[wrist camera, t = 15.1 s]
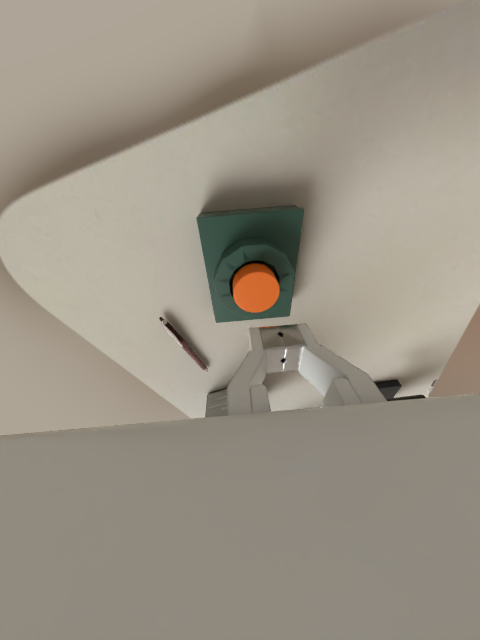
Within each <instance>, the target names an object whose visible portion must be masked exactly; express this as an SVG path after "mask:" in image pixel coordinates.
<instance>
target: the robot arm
mask: <svg viewBox="0 0 480 640" xmlns="http://www.w3.org/2000/svg"><path fill="white" fill-rule="evenodd" d="M249 345H250V351H249V353H248V354H247V356H246V358H245V359H244V361H243V362H242V364H241V365H240V367H239V369H238V370H237V372H236V373H235V375H234V376H233V378H232V380H231V381H230V383H229V384H228V386H227V416H218V417H206V418H195V419H184V420H172V421H162V422H150V423H138V424H127V425H115V426H105V427H92V428H81V429H70V430H58V431H47V432H36V433H24V434H12V435H2V436H0V640H480V393H477V394H466V395H455V396H443V397H432V398H421V399H409V400H398V401H387V400H386V399H385V397H384V396H383V395H382V393H381V392H380V390H379V389H378V388H377V386H376V385H375V383H374V382H373V380H372V379H371V378H370V376H369V375H368V374H367V373H365V372H364V371H362V370H360V369H359V368H357V367H356V366H354V365H352V364H351V363H349V362H347V361H346V360H344V359H343V358H341V357H339V356H338V355H336V354H335V353H333V352H331V351H330V350H328V349H327V348H325V347H323V346H322V345H318V344H317V342H316V340H315V338H314V337H313V335H312V333H311V331H310V329H309V328H308V326H307V324H306V323H302V324H294V325H283V326H270V327H259V328H258V327H257V328H249ZM288 371H298V372H299V373H300V374H301V375H302V376H303V377H304V378H305V379H306V380H307V381H308V382H309V383H310V384H312V385H313V386H314V387H315V388H316V389H317V390H318V391H319V392H320V393H321V394H322V395H323V396H324V399H323V402H322V404H321V406H320V407H319V408H308V409H296V410H285V411H274V412H271V409H270V404H269V399H268V394H267V389H266V386H264V385H263V384H262V383H263V381H264V378H265V376H266V374H267V373H276V372H288Z"/></svg>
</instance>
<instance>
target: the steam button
mask: <svg viewBox="0 0 480 640" xmlns="http://www.w3.org/2000/svg"><path fill="white" fill-rule="evenodd" d="M279 293H280V287H279V283H278V281H277V279H276V277H275V275H274V273H273V272H272V270H271V269H270V268H269V267H267V266H266V265H263V264H260V263H251V264H248V265H245V266H243V267H242V268H241V269H239V270H238V272H237V273H236V274H235V276H234V279H233V296H234V300H235V302H236V304H237V305H238V306H239V307H240V308H241V309H243V310H245V311H248V312H254V313H255V312H262V311H265V310H267V309H269V308H270V307H271V306H273V305H274V303H275V302H276V301H277V299H278V297H279Z"/></svg>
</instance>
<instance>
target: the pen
mask: <svg viewBox="0 0 480 640" xmlns="http://www.w3.org/2000/svg"><path fill="white" fill-rule="evenodd" d="M159 319H160V320H161V324H162V326H163V327H164V329H165V330H166V331H167V332H168V334H169V335H170V336H171V337H172V338H173V339H174V340H175V341H176V342H177V343H178V344H179V345H180V346H181V347H182V348H183V349H184V350H185V351H186V352H187V353H188V354H189V355H190V356H191V357H192V358H193V359H194V360H195V362H196V363H197V364H198V365H199V366H200V367H201V368H202V369H203V370H205V371H207V372H208V369H207V367H206V365H205V364H204V363H203V362H202V361H201V360H200V358H199V357H198V356H197V355H196V354H195V352H194V351H193V350H192V349H191V348H190V346H189V345H188V344H187V343H186V342H185V340H184V339H183V338H182V337H181V336H180V335H179V334H178V333H177V332H176V330H175V329H174V328H173V327H172V326H171V325H170V324H169V323H168V322H167V321H166V320H165V319H162V317H160V318H159Z"/></svg>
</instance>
